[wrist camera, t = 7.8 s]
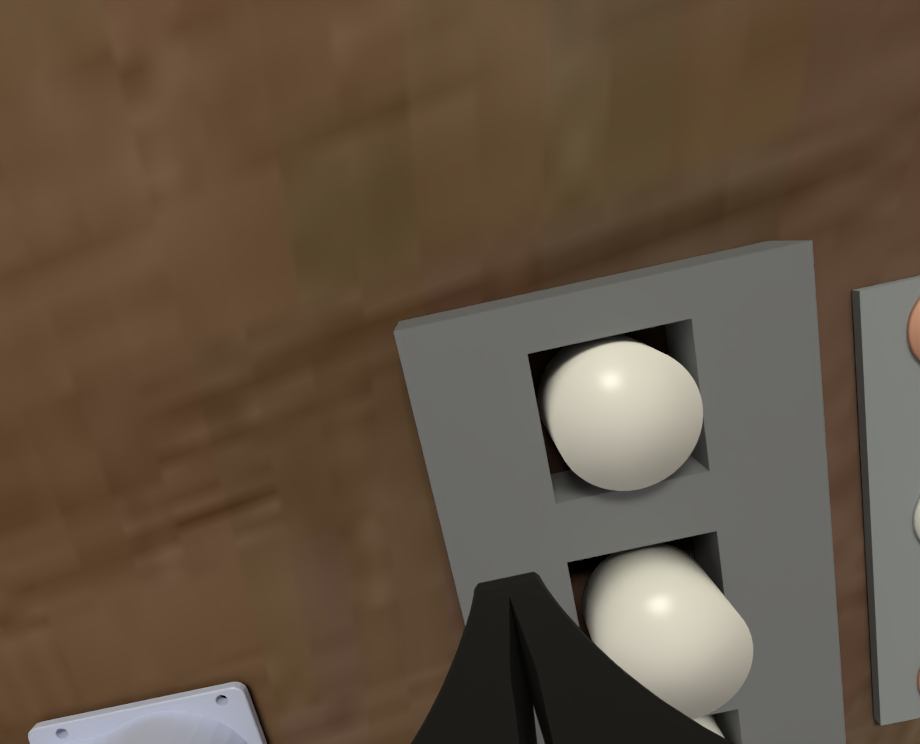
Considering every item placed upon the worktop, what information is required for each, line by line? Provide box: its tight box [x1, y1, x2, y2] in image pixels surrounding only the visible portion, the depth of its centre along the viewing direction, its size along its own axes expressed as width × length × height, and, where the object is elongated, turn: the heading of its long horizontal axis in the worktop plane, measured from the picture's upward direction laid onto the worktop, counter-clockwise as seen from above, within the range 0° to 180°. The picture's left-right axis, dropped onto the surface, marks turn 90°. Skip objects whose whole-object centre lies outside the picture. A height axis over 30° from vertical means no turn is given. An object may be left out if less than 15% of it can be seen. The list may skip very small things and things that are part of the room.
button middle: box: [582, 543, 753, 719], centre depth 20 cm, size 5×5×3 cm
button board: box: [394, 240, 846, 744], centre depth 22 cm, size 14×25×2 cm, turn 12°
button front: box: [538, 334, 703, 491], centre depth 20 cm, size 5×5×3 cm
